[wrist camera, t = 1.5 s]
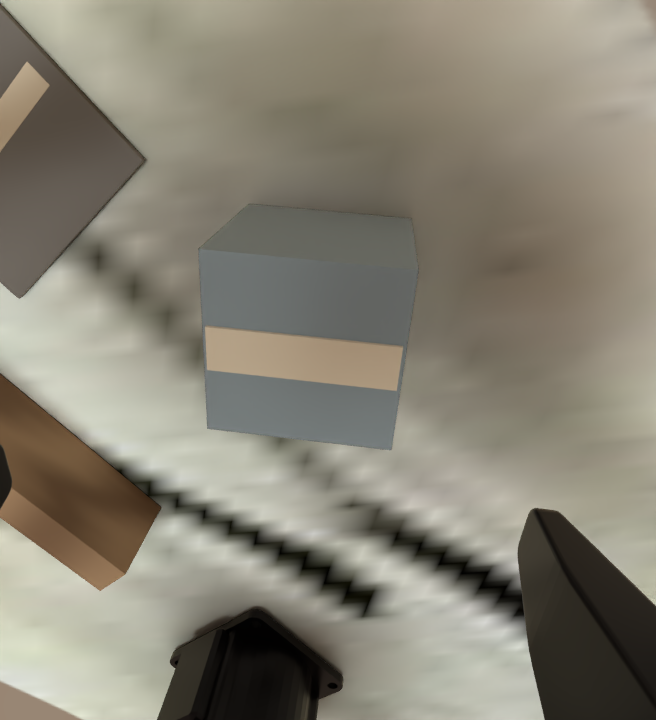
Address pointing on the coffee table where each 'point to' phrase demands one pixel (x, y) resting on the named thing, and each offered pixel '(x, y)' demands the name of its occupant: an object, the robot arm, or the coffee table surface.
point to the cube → (307, 323)
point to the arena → (18, 274)
